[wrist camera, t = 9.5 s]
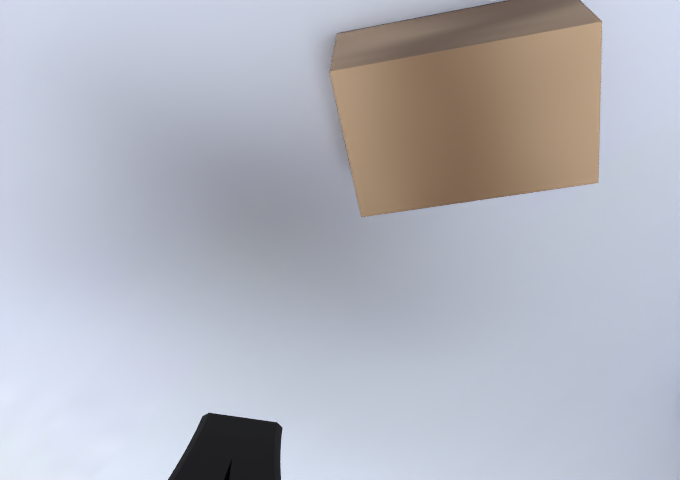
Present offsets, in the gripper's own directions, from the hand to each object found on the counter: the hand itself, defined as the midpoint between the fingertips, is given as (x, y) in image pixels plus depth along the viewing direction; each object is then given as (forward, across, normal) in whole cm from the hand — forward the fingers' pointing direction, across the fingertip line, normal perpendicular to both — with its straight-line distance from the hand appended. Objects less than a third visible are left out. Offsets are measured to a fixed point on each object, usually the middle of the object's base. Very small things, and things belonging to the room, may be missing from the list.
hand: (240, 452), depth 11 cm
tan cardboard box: (+10, -4, -4) cm, 11 cm away
